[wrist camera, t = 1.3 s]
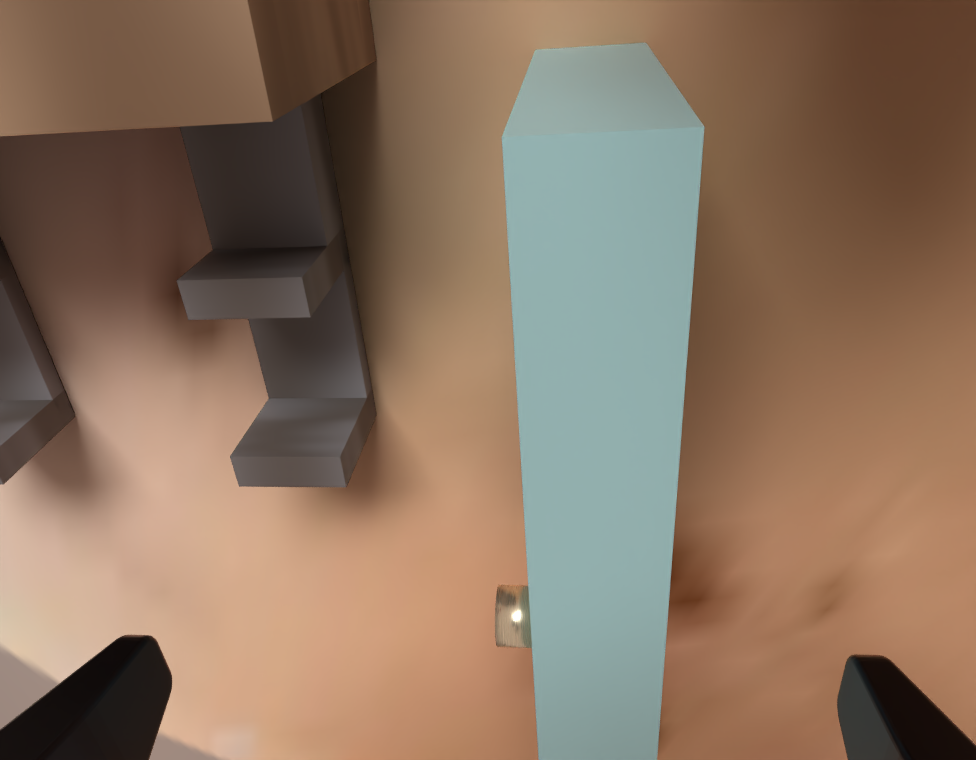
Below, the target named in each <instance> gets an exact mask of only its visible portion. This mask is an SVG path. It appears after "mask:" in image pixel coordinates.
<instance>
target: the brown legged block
mask: <svg viewBox="0 0 976 760" xmlns="http://www.w3.org/2000/svg"><path fill="white" fill-rule="evenodd" d="M374 61H376V52H375V45H374V37H373V30H372V23H371V15H370V8H369V1H368V0H0V136H17V135H35V134H53V133H71V132H90V131H108V130H126V129H144V128H163V127H180V130H181V133H182V137H183V141H184V144H185V148H186V152H187V155H188V159H189V163H190V166H191V170H192V174H193V177H194V181H195V185H196V189H197V192H198V196H199V200H200V203H201V207H202V211H203V214H204V218H205V222H206V225H207V229H208V233H209V237H210V240H211V244H212V248H213V250H212V251H211V252H210V253H209V254H207V255H206V256H205V257H204V258H203V259H202V260H200V261H199V262H198V263H197V264H196V265H194V266H193V267H192V268H191V269H190V270H189V271H187V272H186V273H185V274H184V275H183V276H182V277H180V278H179V279H178V280H177V284H178V287H179V290H180V293H181V297H182V300H183V303H184V307H185V310H186V313H187V317H188V320H206V319H249V323H250V327H251V331H252V335H253V339H254V343H255V346H256V350H257V354H258V358H259V362H260V366H261V370H262V374H263V377H264V381H265V385H266V389H267V393H268V397H269V399H268V401H267V402H266V404H265V405H264V407H263V408H262V410H261V411H260V413H259V414H258V416H257V417H256V419H255V420H254V422H253V423H252V425H251V426H250V428H249V429H248V430H247V432H246V433H245V435H244V436H243V438H242V439H241V441H240V442H239V444H238V445H237V447H236V448H235V450H234V451H233V453H232V454H231V456H230V458H231V461H232V465H233V468H234V471H235V475H236V478H237V481H238V484H239V486H252V487H347V485H348V482H349V480H350V477H351V475H352V473H353V470H354V468H355V465H356V463H357V461H358V458H359V456H360V454H361V451H362V449H363V446H364V444H365V442H366V439H367V437H368V434H369V432H370V430H371V427H372V425H373V423H374V420H375V418H376V409H375V403H374V398H373V392H372V386H371V381H370V375H369V369H368V363H367V358H366V352H365V346H364V340H363V335H362V329H361V323H360V317H359V312H358V306H357V300H356V294H355V289H354V283H353V277H352V272H351V266H350V260H349V254H348V249H347V243H346V237H345V231H344V226H343V220H342V214H341V208H340V203H339V197H338V191H337V185H336V180H335V174H334V168H333V163H332V157H331V151H330V145H329V140H328V134H327V128H326V122H325V117H324V111H323V105H322V99H321V94H320V93H322V92H323V91H325V90H327V89H329V88H330V87H332V86H334V85H335V84H337V83H339V82H340V81H342V80H344V79H346V78H347V77H349V76H351V75H352V74H354V73H356V72H357V71H359V70H361V69H362V68H364V67H366V66H368V65H369V64H371V63H373V62H374ZM74 417H75V414H74V412H73V410H72V407H71V405H70V403H69V400H68V398H67V395H66V393H65V391H64V388H63V386H62V384H61V381H60V379H59V376H58V374H57V372H56V369H55V367H54V364H53V362H52V360H51V357H50V355H49V353H48V350H47V348H46V345H45V343H44V341H43V338H42V336H41V333H40V331H39V329H38V326H37V324H36V322H35V319H34V317H33V314H32V312H31V310H30V307H29V305H28V303H27V300H26V298H25V295H24V293H23V291H22V288H21V286H20V283H19V281H18V279H17V276H16V274H15V272H14V269H13V267H12V264H11V262H10V260H9V257H8V255H7V253H6V250H5V248H4V245H3V243H2V241H1V238H0V484H4V483H6V482H7V481H8V480H9V479H10V478H11V477H12V476H13V475H14V474H15V473H16V472H17V471H18V470H19V469H20V468H21V467H22V466H23V465H25V464H26V463H27V462H28V461H29V460H30V459H31V458H32V457H33V456H34V455H35V454H36V453H37V452H38V451H39V450H40V449H41V448H42V447H44V446H45V445H46V444H47V443H48V442H49V441H50V440H51V439H52V438H53V437H54V436H55V435H56V434H57V433H58V432H59V431H60V430H61V429H63V428H64V427H65V426H66V425H67V424H68V423H69V422H70V421H71V420H72V419H73V418H74Z"/></svg>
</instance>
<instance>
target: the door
mask: <svg viewBox="0 0 976 760" xmlns="http://www.w3.org/2000/svg"><path fill="white" fill-rule="evenodd" d="M703 139H704V126H703V124H702V123H701V121H700V120H699V118H698V117H697V116H696V114H695V113H694V111H693V110H692V108H691V107H690V105H689V104H688V103H687V101H686V100H685V98H684V97H683V95H682V94H681V92H680V91H679V90H678V88H677V87H676V85H675V84H674V82H673V81H672V79H671V78H670V77H669V75H668V74H667V72H666V71H665V69H664V68H663V66H662V65H661V64H660V62H659V61H658V59H657V58H656V56H655V55H654V53H653V52H652V51H651V49H650V48H649V46H648V45H647V43H632V44H616V45H601V46H585V47H570V48H554V49H539V50H535V52H534V55H533V58H532V60H531V63H530V65H529V68H528V70H527V73H526V76H525V78H524V81H523V83H522V86H521V89H520V91H519V94H518V96H517V99H516V102H515V104H514V107H513V109H512V112H511V115H510V117H509V120H508V122H507V125H506V127H505V130H504V133H503V135H502V148H503V165H504V182H505V199H506V216H507V233H508V250H509V267H510V284H511V301H512V318H513V334H514V351H515V368H516V385H517V402H518V419H519V436H520V453H521V470H522V487H523V504H524V520H525V537H526V554H527V571H528V586H523V585H499V586H498V589H497V595H496V608H495V637H496V645H497V647H508V648H532V656H533V673H534V690H535V707H536V723H537V740H538V757H539V760H657V754H658V740H659V727H660V713H661V700H662V687H663V673H664V660H665V647H666V633H667V620H668V607H669V593H670V580H671V567H672V553H673V540H674V527H675V513H676V500H677V487H678V473H679V460H680V446H681V433H682V420H683V406H684V393H685V380H686V366H687V353H688V340H689V326H690V313H691V300H692V286H693V273H694V260H695V246H696V233H697V220H698V206H699V193H700V180H701V166H702V153H703Z"/></svg>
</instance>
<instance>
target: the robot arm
mask: <svg viewBox="0 0 976 760" xmlns="http://www.w3.org/2000/svg"><path fill="white" fill-rule="evenodd" d="M171 689H172V675H171V672H170V669H169V667H168V665H167V662H166V660H165V658H164V656H163V654H162V651H161V649H160V647H159V645H158V642H157V641H156V639H155V638H153V637H152V636H149V635H125V636H122V637H120V638H118V639H116V640H115V641H114V642H112V643H111V644H110V645H109V646H107V647H106V648H105V649H103V650H102V651H101V652H100V653H98V654H97V655H96V656H94V657H93V658H92V659H90V660H89V661H88V662H87V663H85V664H84V665H83V666H81V667H80V668H79V669H78V670H76V671H75V672H74V673H72V674H71V675H70V676H69V677H67V678H66V679H65V680H63V681H62V682H61V683H60V684H58V685H57V686H56V687H55V688H53V689H52V690H50V691H49V692H48V693H47V694H46V695H44V696H43V697H41V698H40V699H39V700H38V701H36V702H35V703H34V704H32V705H31V706H30V707H29V708H27V709H26V710H25V711H24V712H22V713H21V714H20V715H18V716H17V717H16V718H15V719H13V720H12V721H11V722H9V723H8V724H7V725H5V726H4V727H3V728H1V729H0V760H149V758H150V755H151V751H152V749H153V745H154V742H155V739H156V736H157V733H158V730H159V727H160V724H161V721H162V718H163V715H164V712H165V709H166V706H167V703H168V700H169V697H170V693H171ZM837 709H838V717H839V722H840V726H841V731H842V735H843V739H844V744H845V748H846V753H847V757H848V760H976V745H975V744H974V743H973V742H972V741H971V740H970V739H969V738H968V737H967V736H966V735H965V734H964V733H963V732H962V731H961V730H960V729H959V728H958V727H957V726H956V725H955V724H954V723H953V722H952V721H951V720H950V719H949V718H948V717H947V716H946V715H945V714H944V713H943V712H942V711H941V710H940V709H939V708H938V707H937V706H936V705H935V704H934V703H933V702H932V701H931V700H930V699H929V698H928V697H927V696H926V695H925V694H924V693H923V692H922V691H921V690H920V689H919V688H918V687H917V686H916V685H915V684H914V683H913V682H912V681H911V680H910V679H909V678H908V677H907V676H906V675H905V674H904V673H903V672H902V671H901V670H900V669H899V668H898V667H897V666H896V665H895V664H894V663H893V662H892V661H891V660H889V659H888V658H886V657H884V656H880V655H851V656H850V657H849V658H848V659H847V662H846V665H845V669H844V673H843V677H842V681H841V685H840V690H839V694H838V699H837Z"/></svg>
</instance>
